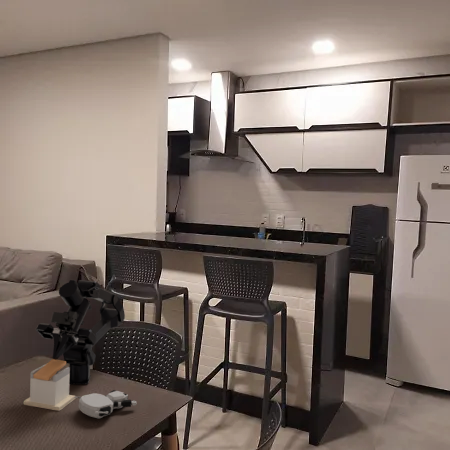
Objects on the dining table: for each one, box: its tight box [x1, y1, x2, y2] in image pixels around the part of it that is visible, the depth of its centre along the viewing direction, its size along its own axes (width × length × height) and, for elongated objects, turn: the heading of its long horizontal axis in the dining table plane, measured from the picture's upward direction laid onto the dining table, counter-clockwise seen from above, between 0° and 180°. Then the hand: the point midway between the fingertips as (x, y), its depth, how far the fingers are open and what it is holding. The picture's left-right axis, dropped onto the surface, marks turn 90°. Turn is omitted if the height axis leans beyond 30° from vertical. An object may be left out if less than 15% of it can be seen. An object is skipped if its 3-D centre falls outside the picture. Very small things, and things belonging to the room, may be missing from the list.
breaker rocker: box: [33, 358, 67, 380], centre depth 131 cm, size 9×5×2 cm, turn 166°
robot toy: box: [74, 389, 138, 419], centre depth 128 cm, size 12×4×15 cm
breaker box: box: [23, 363, 76, 412], centre depth 132 cm, size 8×12×10 cm, turn 76°
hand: (54, 359), depth 133 cm, fingers closed
